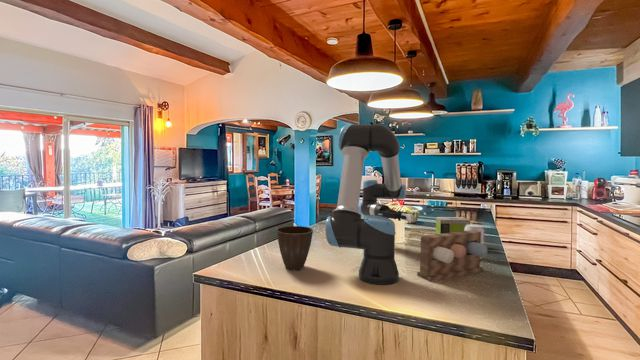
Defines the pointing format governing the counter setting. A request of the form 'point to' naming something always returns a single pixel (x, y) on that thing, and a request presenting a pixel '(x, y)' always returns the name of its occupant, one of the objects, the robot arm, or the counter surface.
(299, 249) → the plant pot
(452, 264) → the brown wooden rectangular frame
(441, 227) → the tea box
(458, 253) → the terracotta long rounded piece
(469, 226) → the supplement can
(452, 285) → the counter surface
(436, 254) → the ivory button
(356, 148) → the robot arm
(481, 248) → the slate button
